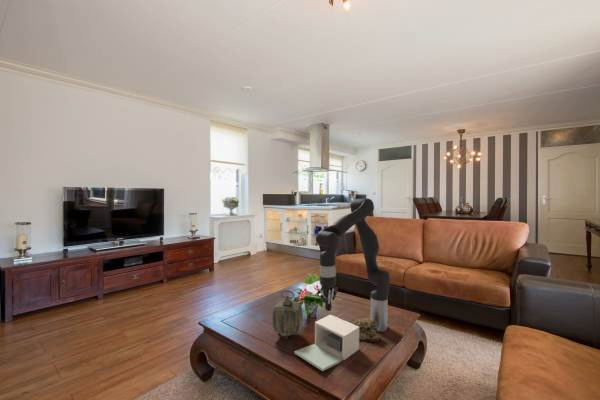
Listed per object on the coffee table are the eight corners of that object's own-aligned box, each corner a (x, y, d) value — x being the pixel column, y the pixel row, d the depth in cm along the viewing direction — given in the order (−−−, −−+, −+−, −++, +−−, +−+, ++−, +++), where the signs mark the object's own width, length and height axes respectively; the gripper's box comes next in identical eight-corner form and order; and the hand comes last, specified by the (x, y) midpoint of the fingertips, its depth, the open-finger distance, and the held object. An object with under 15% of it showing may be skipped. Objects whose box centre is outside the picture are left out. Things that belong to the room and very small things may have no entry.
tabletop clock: (302, 335, 147) (302, 289, 146) (298, 344, 138) (298, 295, 137) (276, 331, 151) (276, 286, 149) (271, 340, 142) (271, 292, 141)
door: (314, 343, 136) (294, 351, 127) (342, 359, 124) (322, 368, 115) (313, 348, 136) (294, 356, 127) (341, 364, 124) (322, 374, 115)
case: (330, 336, 146) (330, 314, 145) (359, 351, 133) (359, 326, 132) (314, 345, 137) (314, 322, 137) (344, 362, 124) (344, 336, 124)
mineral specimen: (350, 343, 139) (350, 324, 139) (349, 330, 152) (349, 313, 152) (380, 345, 138) (380, 326, 137) (375, 332, 150) (376, 314, 150)
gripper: (330, 269, 135) (331, 303, 136) (312, 275, 126) (313, 312, 127) (342, 272, 130) (343, 307, 131) (324, 279, 121) (325, 318, 122)
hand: (328, 310), depth 129 cm, fingers closed
